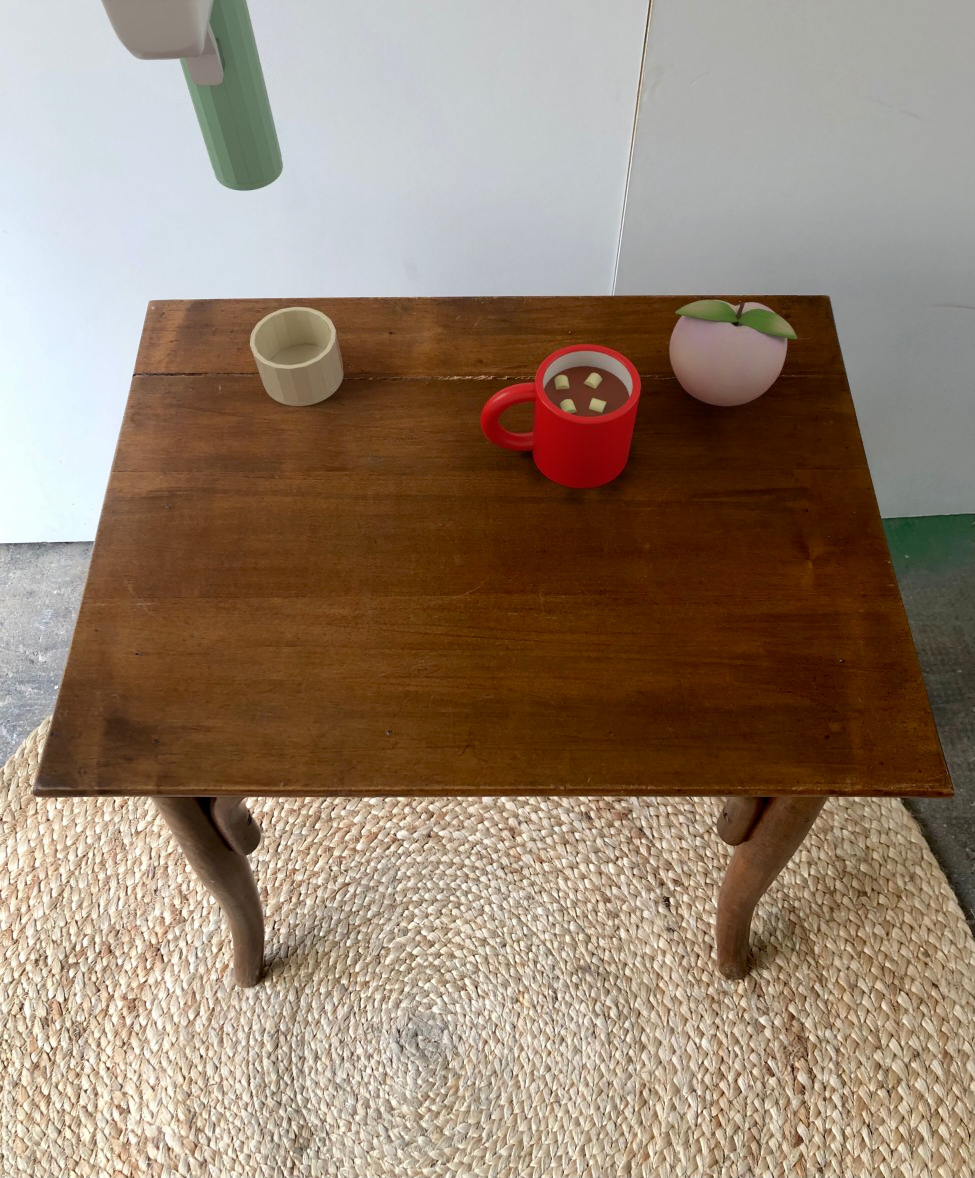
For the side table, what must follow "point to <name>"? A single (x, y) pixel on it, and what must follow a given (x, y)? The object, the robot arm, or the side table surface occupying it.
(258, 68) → the bottle
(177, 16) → the robot arm
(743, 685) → the side table surface
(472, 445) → the side table surface
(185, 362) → the side table surface
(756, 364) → the decorative fruit
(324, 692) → the side table surface
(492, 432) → the mug
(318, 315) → the holder
